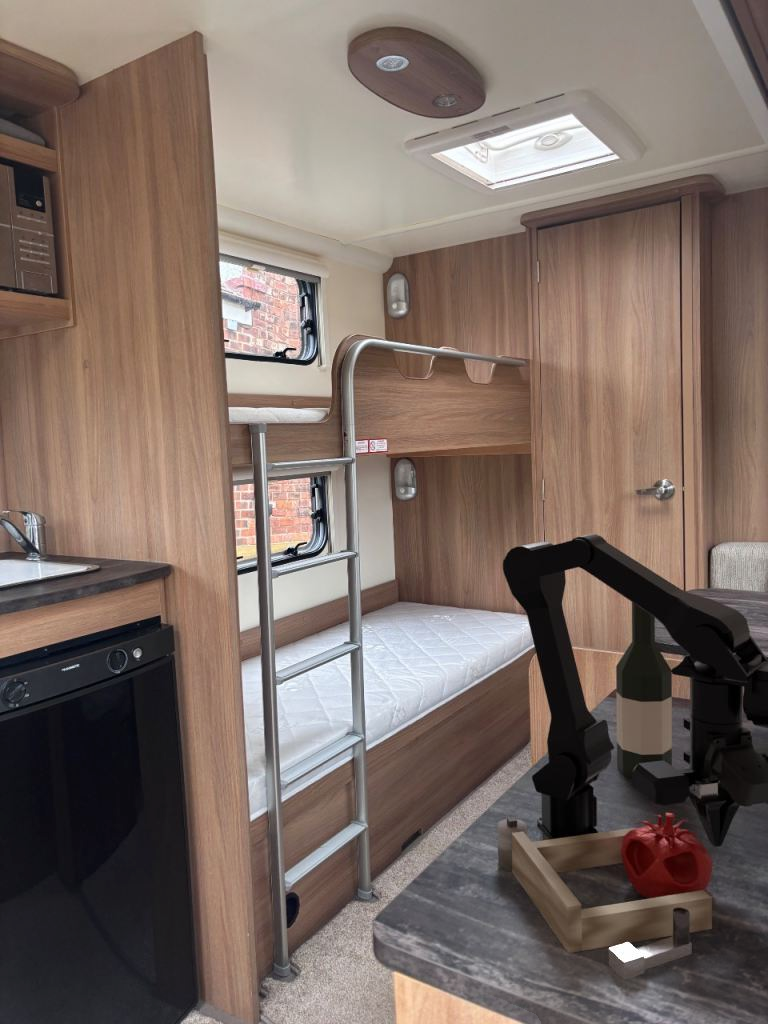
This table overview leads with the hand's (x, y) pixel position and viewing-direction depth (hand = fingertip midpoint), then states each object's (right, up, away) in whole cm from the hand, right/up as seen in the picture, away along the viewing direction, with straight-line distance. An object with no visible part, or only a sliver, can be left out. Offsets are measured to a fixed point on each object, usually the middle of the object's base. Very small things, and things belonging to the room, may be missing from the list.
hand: (715, 845), depth 92 cm
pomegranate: (-6, -5, -1) cm, 8 cm away
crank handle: (-12, -6, -13) cm, 19 cm away
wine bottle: (+2, -2, +32) cm, 32 cm away
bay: (-15, -5, -1) cm, 16 cm away
